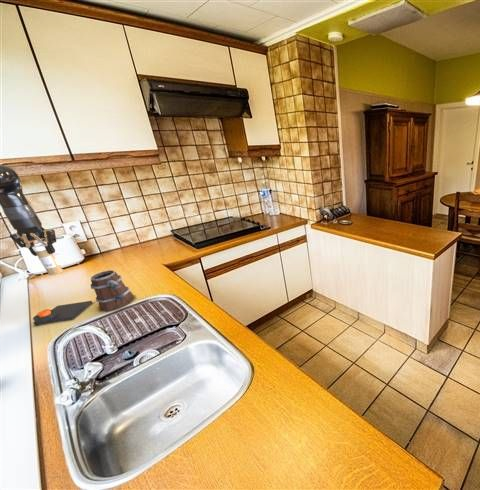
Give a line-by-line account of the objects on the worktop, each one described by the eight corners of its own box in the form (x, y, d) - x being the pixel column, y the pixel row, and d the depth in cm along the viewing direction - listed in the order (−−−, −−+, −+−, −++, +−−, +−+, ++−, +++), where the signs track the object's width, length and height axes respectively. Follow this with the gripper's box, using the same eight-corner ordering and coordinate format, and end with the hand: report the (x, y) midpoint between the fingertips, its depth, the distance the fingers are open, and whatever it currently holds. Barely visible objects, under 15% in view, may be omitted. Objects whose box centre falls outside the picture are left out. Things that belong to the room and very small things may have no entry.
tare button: (36, 318, 108) (33, 315, 107) (43, 313, 111) (41, 309, 110) (46, 317, 108) (44, 313, 108) (54, 311, 112) (52, 308, 111)
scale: (32, 326, 107) (28, 320, 106) (57, 308, 118) (53, 302, 117) (71, 320, 110) (68, 314, 109) (92, 303, 121) (89, 297, 120)
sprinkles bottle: (66, 269, 120) (50, 242, 115) (58, 274, 116) (41, 246, 111) (54, 271, 119) (37, 244, 114) (45, 276, 115) (28, 248, 110)
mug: (95, 307, 118) (78, 278, 112) (127, 293, 127) (113, 265, 121) (112, 316, 111) (95, 286, 105) (144, 300, 121) (131, 272, 115)
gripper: (51, 211, 112) (71, 248, 119) (9, 215, 109) (32, 253, 116) (35, 217, 105) (57, 255, 112) (-10, 221, 102) (16, 260, 109)
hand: (44, 254), depth 114 cm, fingers closed on sprinkles bottle, 4 cm apart
